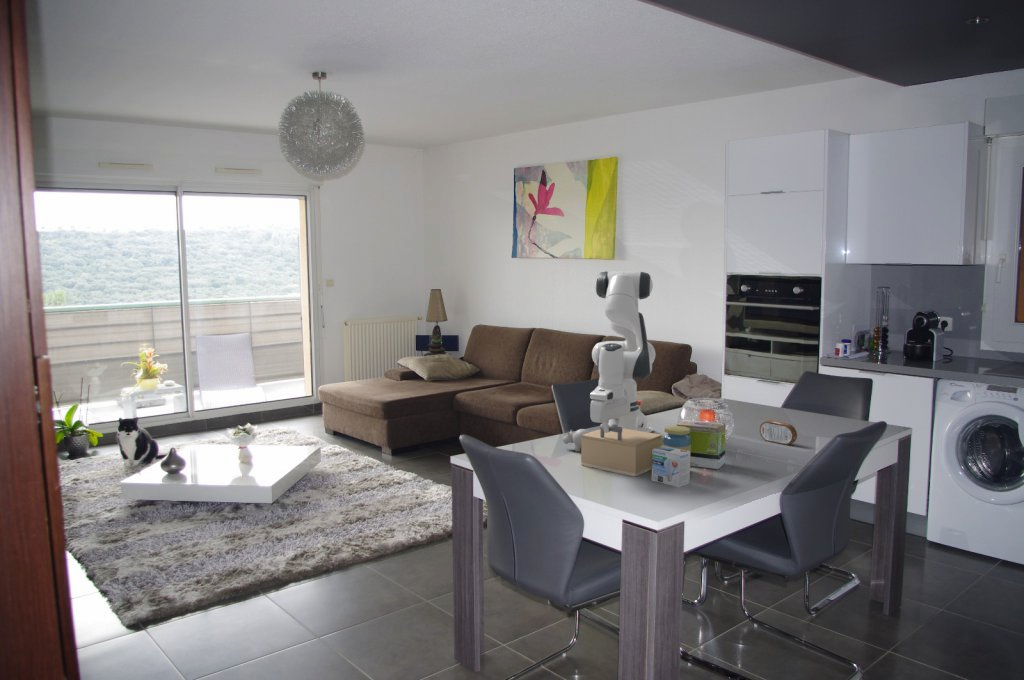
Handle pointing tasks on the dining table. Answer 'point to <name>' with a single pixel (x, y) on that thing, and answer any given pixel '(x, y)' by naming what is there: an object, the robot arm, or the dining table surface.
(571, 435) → the toy rhinoceros
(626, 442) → the carton flap
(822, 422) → the dining table surface
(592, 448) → the carton
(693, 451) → the tea box
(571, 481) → the dining table surface
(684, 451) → the light bulb box
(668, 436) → the jar
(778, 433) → the tin
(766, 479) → the dining table surface
